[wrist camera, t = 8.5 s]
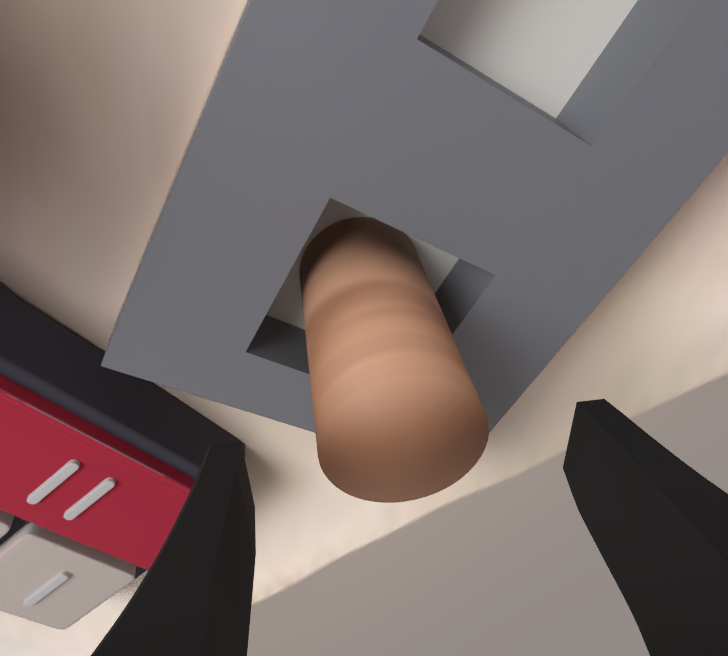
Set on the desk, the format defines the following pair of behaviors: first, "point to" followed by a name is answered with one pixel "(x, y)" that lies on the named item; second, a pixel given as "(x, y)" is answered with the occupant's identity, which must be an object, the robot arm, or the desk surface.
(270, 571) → the desk surface
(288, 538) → the desk surface
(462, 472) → the peg
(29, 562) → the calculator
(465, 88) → the board
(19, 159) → the desk surface
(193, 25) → the desk surface
